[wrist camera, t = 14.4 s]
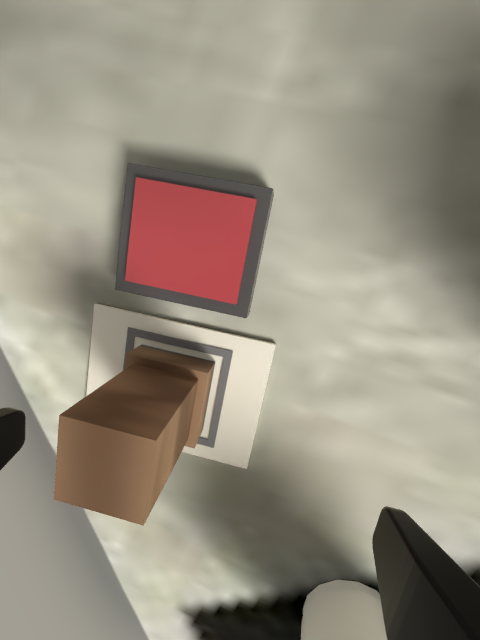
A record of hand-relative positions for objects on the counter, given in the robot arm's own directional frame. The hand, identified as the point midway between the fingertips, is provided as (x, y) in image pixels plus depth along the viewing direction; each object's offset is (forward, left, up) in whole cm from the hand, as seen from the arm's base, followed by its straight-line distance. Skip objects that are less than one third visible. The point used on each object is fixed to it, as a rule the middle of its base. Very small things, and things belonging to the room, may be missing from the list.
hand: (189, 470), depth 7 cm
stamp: (+4, +4, -12) cm, 13 cm away
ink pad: (+4, -5, -12) cm, 14 cm away
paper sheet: (+4, +4, -12) cm, 13 cm away
